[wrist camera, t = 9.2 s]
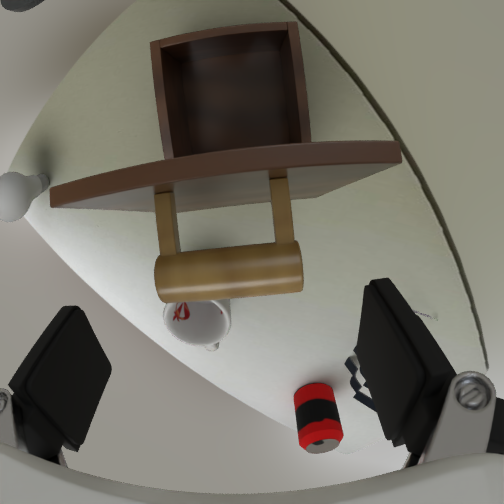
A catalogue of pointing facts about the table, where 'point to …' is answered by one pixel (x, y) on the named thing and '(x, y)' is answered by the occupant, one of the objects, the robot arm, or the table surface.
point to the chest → (230, 88)
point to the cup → (199, 322)
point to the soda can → (317, 418)
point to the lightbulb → (19, 194)
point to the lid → (229, 194)
